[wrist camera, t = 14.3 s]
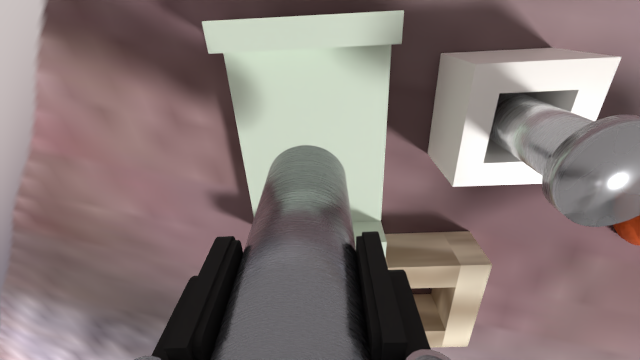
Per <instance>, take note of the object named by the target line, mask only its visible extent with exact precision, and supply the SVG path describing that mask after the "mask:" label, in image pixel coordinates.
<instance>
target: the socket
mask: <svg viewBox="0 0 640 360" xmlns="http://www.w3.org/2000/svg"><path fill="white" fill-rule="evenodd" d="M385 238H386V241H387V246H386V258H385V259H386V263H387V266H388V270H404V271H405V272H406V275H407V278H408V281H409V284H410V287H411V288H432V292H431V294H413V296H414V299H415V303H416V306H417V309H418V312H419V315H420V318H421V321H422V324H423V327H424V330H425V333H426V336H427V339H428V343H429V346H430V347H467V346H468V343H469V340H470V336H471V333H472V330H473V326H474V323H475V320H476V316H477V313H478V310H479V307H480V303H481V300H482V297H483V293H484V290H485V287H486V283H487V280H488V277H489V274H490V270H491V267H492V264H491V262H490V261H489V259H488V258H487V256H486V255H485V253H484V252H483V251H482V249H481V248H480V246H479V245H478V243H477V242H476V240H475V239H474V237H473V236H472V234H471V233H470V231H461V232H429V233H398V234H385Z"/></svg>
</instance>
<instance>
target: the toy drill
mask: <svg viewBox="0 0 640 360" xmlns="http://www.w3.org/2000/svg"><path fill="white" fill-rule="evenodd" d="M613 227H614V229H615V230H616V232H617V233H618V235H619V236H620V237H622V238H623V239H625V240H626V241H628V242H629V243H631V244H634V245H640V215H639V216H637V217H634V218H632V219H630V220H627V221H624V222H621V223H618V224H614V225H613Z"/></svg>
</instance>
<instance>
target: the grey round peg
mask: <svg viewBox="0 0 640 360" xmlns="http://www.w3.org/2000/svg"><path fill="white" fill-rule="evenodd" d="M210 360H371V356H370V349H369V342H368V335H367V327H366V320H365V313H364V306H363V299H362V292H361V284H360V277H359V270H358V263H357V256H356V245H355V238H354V231H353V224H352V217H351V210H350V203H349V196H348V189H347V182H346V175H345V170H344V168H343V166H342V164H341V162H340V161H339V160H338V158H337V157H336V156H334V155H333V154H332V153H331V152H329V151H327V150H325V149H323V148H321V147H317V146H312V145H301V146H295V147H292V148H289V149H287V150H285V151H283V152H282V153H281V154H279V155H278V156H277V157H276V158H275V160H274V161H273V163H272V164H271V167H270V169H269V172H268V175H267V179H266V182H265V185H264V188H263V191H262V195H261V198H260V201H259V204H258V208H257V211H256V214H255V217H254V220H253V224H252V227H251V230H250V233H249V236H248V240H247V243H246V246H245V249H244V252H243V256H242V259H241V262H240V265H239V269H238V272H237V275H236V278H235V281H234V285H233V288H232V291H231V294H230V297H229V301H228V304H227V307H226V310H225V314H224V317H223V320H222V323H221V326H220V330H219V333H218V336H217V339H216V342H215V346H214V349H213V352H212V355H211V358H210Z"/></svg>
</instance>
